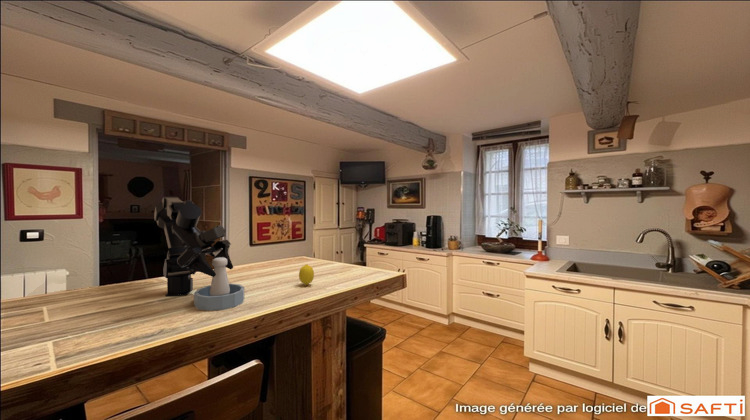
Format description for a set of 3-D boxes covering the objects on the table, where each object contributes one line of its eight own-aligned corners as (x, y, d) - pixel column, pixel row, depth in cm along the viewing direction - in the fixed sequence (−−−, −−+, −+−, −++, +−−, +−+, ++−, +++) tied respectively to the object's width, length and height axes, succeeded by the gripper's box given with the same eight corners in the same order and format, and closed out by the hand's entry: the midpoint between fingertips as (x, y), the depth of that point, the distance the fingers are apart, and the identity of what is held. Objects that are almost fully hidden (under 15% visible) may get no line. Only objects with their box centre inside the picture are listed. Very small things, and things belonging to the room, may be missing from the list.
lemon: (310, 288, 116) (310, 266, 115) (296, 286, 117) (296, 265, 117) (316, 283, 121) (316, 263, 121) (302, 282, 122) (302, 262, 122)
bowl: (188, 312, 90) (188, 298, 90) (202, 296, 104) (201, 284, 103) (240, 308, 94) (240, 295, 94) (246, 294, 107) (246, 282, 107)
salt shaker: (210, 297, 100) (210, 256, 100) (230, 295, 103) (230, 255, 102) (208, 303, 95) (208, 260, 94) (229, 301, 97) (229, 259, 97)
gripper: (186, 220, 89) (223, 261, 88) (225, 215, 107) (256, 249, 106) (161, 246, 90) (197, 287, 89) (203, 237, 108) (233, 271, 108)
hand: (223, 272), depth 98 cm, fingers open, 9 cm apart
